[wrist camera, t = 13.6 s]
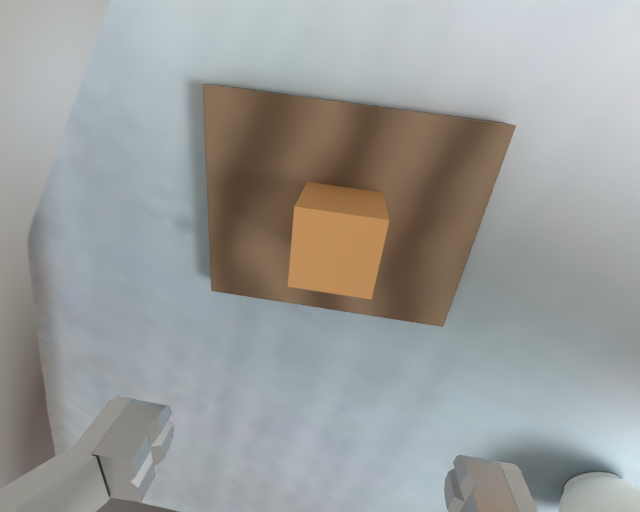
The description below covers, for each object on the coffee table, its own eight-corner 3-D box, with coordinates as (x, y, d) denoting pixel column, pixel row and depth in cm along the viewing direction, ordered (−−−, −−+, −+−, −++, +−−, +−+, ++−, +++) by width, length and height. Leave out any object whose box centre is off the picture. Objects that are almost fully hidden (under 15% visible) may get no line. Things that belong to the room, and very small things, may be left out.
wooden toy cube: (382, 192, 24) (389, 220, 19) (368, 259, 26) (371, 299, 21) (307, 181, 24) (294, 206, 19) (300, 249, 26) (287, 286, 21)
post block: (506, 123, 22) (546, 133, 18) (439, 315, 30) (454, 359, 25) (211, 84, 23) (174, 84, 18) (218, 281, 30) (192, 317, 26)
